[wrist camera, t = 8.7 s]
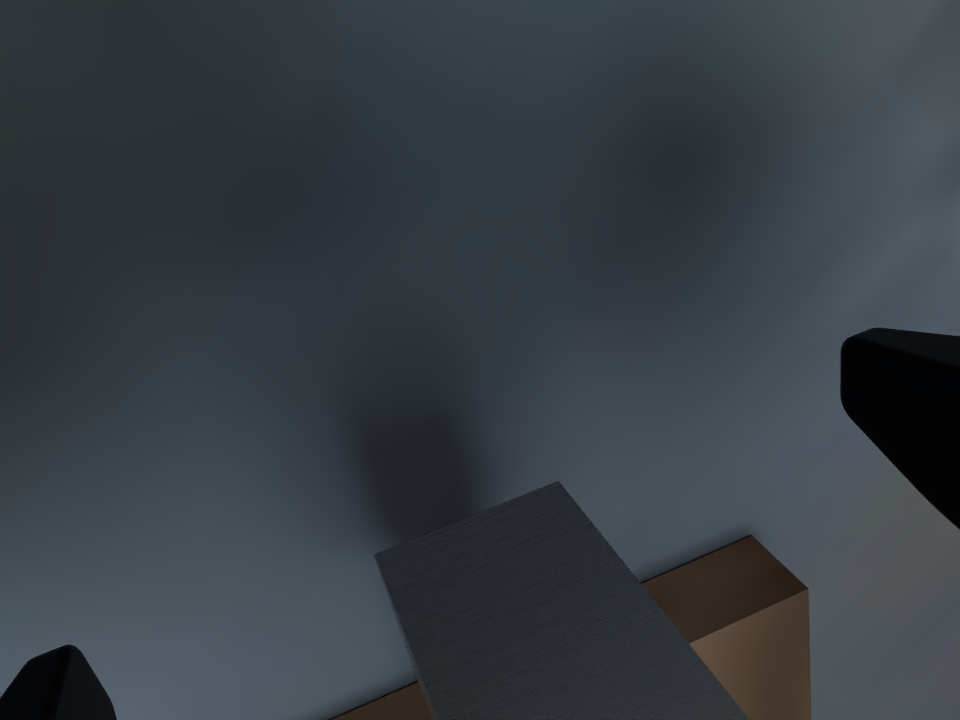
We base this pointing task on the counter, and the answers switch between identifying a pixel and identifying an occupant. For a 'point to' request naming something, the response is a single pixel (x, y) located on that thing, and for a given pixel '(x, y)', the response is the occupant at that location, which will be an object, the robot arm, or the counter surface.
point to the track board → (713, 633)
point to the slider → (540, 622)
